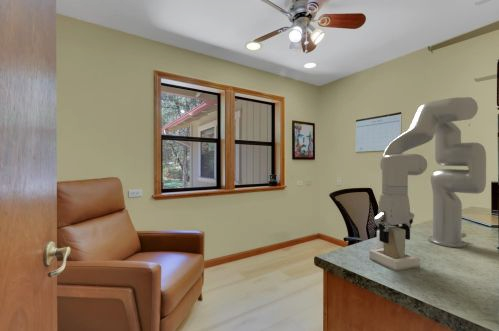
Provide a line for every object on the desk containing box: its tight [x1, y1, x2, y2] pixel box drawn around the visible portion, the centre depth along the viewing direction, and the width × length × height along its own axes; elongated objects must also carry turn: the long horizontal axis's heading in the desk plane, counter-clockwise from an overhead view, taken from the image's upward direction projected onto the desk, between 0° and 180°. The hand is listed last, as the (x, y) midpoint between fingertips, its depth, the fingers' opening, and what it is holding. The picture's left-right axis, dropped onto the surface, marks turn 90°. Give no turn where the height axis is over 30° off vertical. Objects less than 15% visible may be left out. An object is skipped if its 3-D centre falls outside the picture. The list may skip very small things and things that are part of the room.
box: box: [384, 226, 406, 259], centre depth 83 cm, size 5×4×11 cm
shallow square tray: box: [368, 248, 421, 272], centre depth 82 cm, size 10×10×3 cm
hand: (394, 240), depth 83 cm, fingers open, 9 cm apart
